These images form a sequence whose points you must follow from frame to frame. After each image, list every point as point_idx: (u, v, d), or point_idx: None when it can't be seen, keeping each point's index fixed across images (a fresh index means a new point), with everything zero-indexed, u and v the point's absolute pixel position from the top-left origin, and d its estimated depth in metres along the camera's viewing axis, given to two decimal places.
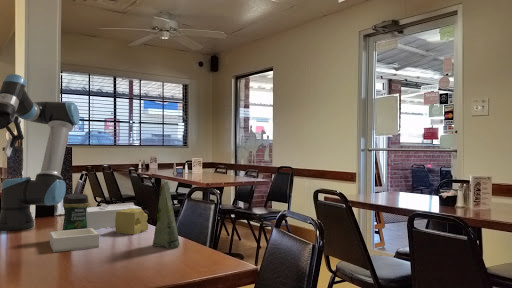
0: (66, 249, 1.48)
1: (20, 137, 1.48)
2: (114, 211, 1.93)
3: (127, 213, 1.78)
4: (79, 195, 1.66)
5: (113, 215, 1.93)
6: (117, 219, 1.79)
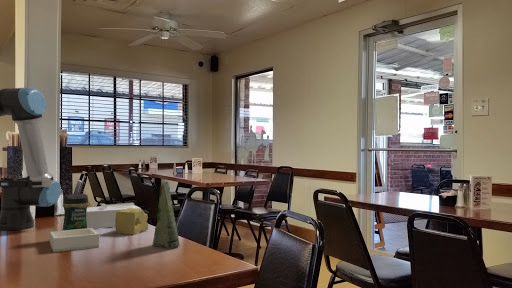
0: (66, 249, 1.48)
1: (30, 184, 1.50)
2: (113, 211, 1.93)
3: (127, 213, 1.78)
4: (79, 195, 1.66)
5: (112, 215, 1.92)
6: (117, 219, 1.79)
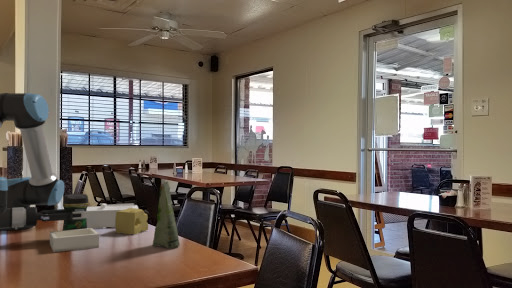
0: (66, 249, 1.48)
1: (71, 217, 1.59)
2: (109, 211, 1.92)
3: (127, 213, 1.78)
4: (79, 195, 1.66)
5: (108, 215, 1.92)
6: (117, 219, 1.79)
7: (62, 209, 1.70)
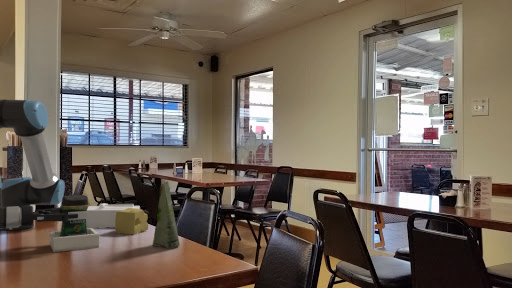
0: (66, 249, 1.48)
1: (66, 218, 1.45)
2: (105, 211, 1.92)
3: (127, 213, 1.78)
4: (78, 196, 1.55)
5: (104, 215, 1.92)
6: (117, 219, 1.79)
7: (56, 208, 1.60)
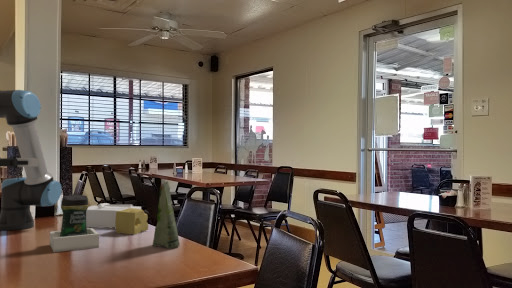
0: (66, 249, 1.48)
1: (15, 163, 1.40)
2: (102, 211, 1.92)
3: (127, 213, 1.78)
4: (78, 196, 1.55)
5: (101, 215, 1.92)
6: (117, 219, 1.79)
7: None
